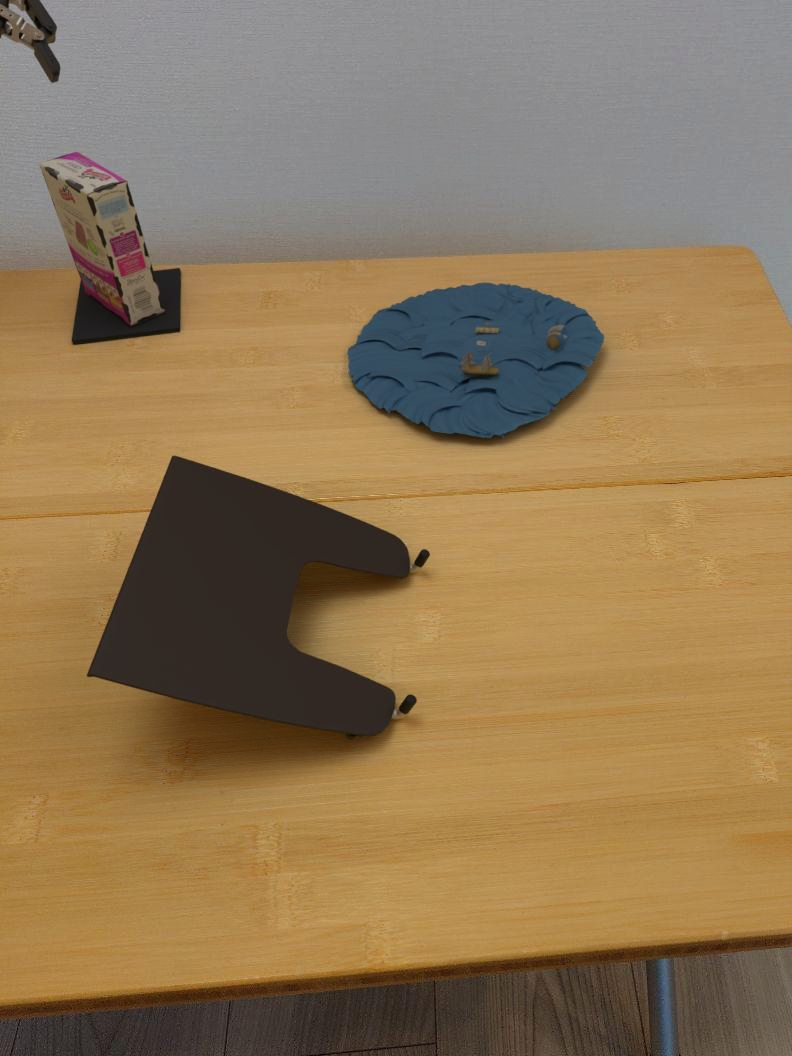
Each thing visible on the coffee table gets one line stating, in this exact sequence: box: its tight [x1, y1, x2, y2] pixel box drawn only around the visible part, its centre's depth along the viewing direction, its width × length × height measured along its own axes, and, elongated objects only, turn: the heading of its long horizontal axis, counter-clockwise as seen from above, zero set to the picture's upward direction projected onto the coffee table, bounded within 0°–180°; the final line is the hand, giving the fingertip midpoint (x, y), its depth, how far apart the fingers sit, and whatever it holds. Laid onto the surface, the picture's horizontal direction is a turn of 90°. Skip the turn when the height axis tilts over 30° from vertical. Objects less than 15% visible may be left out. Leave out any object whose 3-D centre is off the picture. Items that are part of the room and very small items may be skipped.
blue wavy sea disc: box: [347, 282, 605, 439], centre depth 107 cm, size 30×30×5 cm
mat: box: [71, 267, 182, 345], centre depth 116 cm, size 12×14×1 cm
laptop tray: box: [86, 455, 431, 741], centre depth 78 cm, size 23×23×9 cm
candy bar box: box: [38, 151, 166, 326], centre depth 109 cm, size 11×5×16 cm, turn 47°
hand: (18, 88), depth 105 cm, fingers open, 8 cm apart
